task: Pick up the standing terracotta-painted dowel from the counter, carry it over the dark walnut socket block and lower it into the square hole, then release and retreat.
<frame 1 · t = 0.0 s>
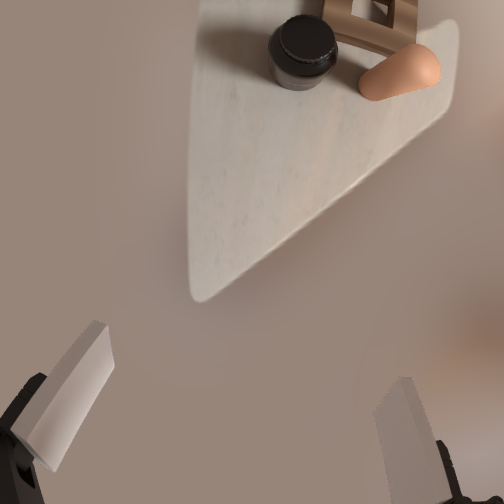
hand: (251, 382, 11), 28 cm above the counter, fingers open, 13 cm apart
socket block: (367, 13, 25), on the counter
supplement bottle: (297, 67, 30), on the counter
dowel: (372, 86, 29), on the counter
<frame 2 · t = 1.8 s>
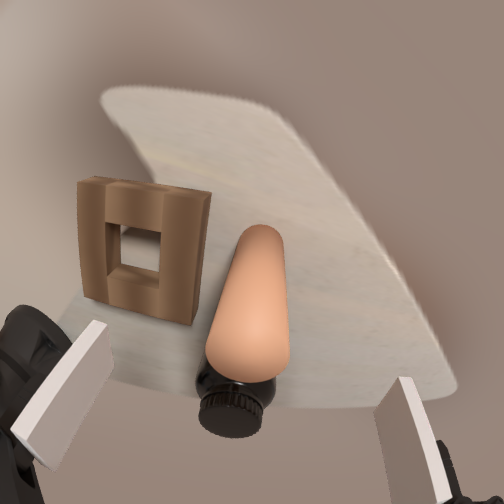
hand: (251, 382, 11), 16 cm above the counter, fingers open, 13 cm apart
socket block: (144, 243, 27), on the counter
supplement bottle: (244, 329, 30), on the counter
dowel: (260, 245, 26), on the counter
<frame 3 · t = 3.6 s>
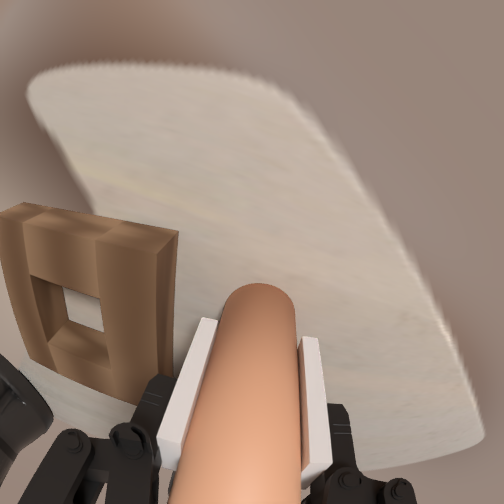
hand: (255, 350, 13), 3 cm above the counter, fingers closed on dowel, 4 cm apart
socket block: (92, 299, 17), on the counter
dowel: (259, 314, 16), on the counter, touching gripper
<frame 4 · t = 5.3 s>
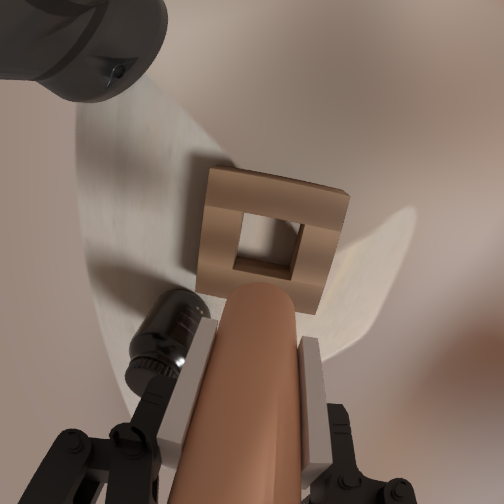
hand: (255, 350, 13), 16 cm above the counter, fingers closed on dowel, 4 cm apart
socket block: (268, 236, 28), on the counter
supplement bottle: (184, 311, 33), on the counter
dowel: (259, 312, 16), point 13 cm above the counter, touching gripper
when the fingers open (5 cm above the counter, at t = 7.1 s): dowel drops 2 cm, resting in socket block.
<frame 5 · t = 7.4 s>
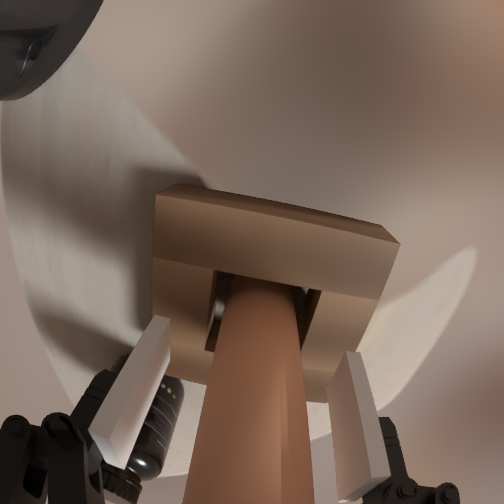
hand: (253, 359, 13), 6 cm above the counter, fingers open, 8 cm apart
socket block: (261, 295, 18), on the counter
supplement bottle: (150, 378, 23), on the counter
dowel: (260, 295, 18), resting in socket block
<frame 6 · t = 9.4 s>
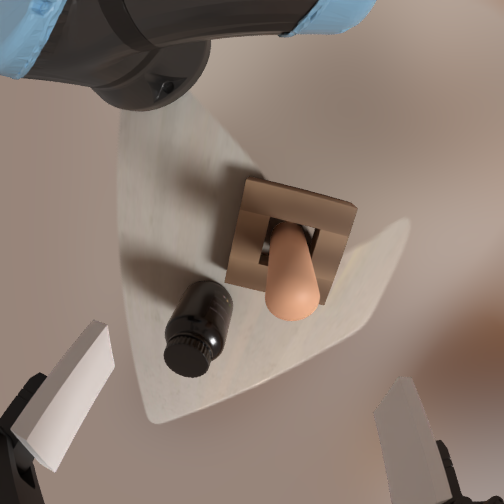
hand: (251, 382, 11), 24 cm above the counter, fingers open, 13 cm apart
socket block: (288, 238, 34), on the counter
supplement bottle: (209, 301, 38), on the counter
dowel: (287, 237, 34), resting in socket block
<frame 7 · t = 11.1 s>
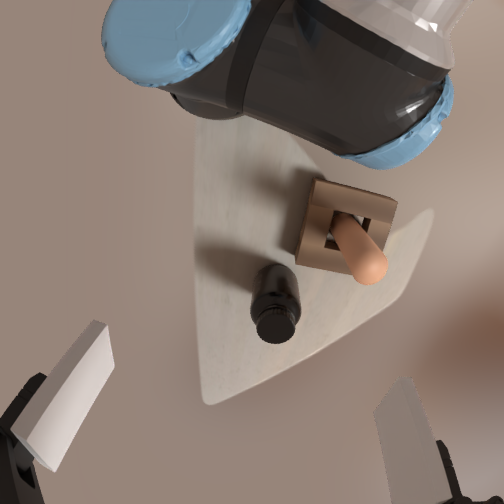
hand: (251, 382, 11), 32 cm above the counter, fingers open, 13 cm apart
socket block: (343, 226, 41), on the counter
supplement bottle: (276, 282, 45), on the counter
dowel: (343, 226, 41), resting in socket block
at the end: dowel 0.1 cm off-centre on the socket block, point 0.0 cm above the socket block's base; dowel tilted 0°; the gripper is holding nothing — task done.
